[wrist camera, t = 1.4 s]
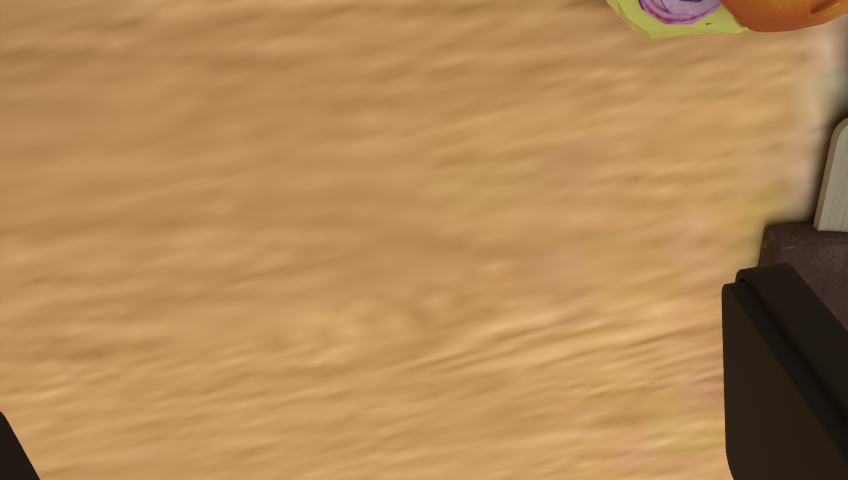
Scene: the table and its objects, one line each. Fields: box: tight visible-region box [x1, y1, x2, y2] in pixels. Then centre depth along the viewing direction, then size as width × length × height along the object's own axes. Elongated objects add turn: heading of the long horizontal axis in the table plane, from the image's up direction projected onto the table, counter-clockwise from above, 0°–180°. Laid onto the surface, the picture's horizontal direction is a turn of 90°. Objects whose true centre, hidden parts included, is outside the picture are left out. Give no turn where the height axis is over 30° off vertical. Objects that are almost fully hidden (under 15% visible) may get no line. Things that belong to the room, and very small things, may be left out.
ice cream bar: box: [759, 118, 848, 331], centre depth 34 cm, size 5×2×15 cm
